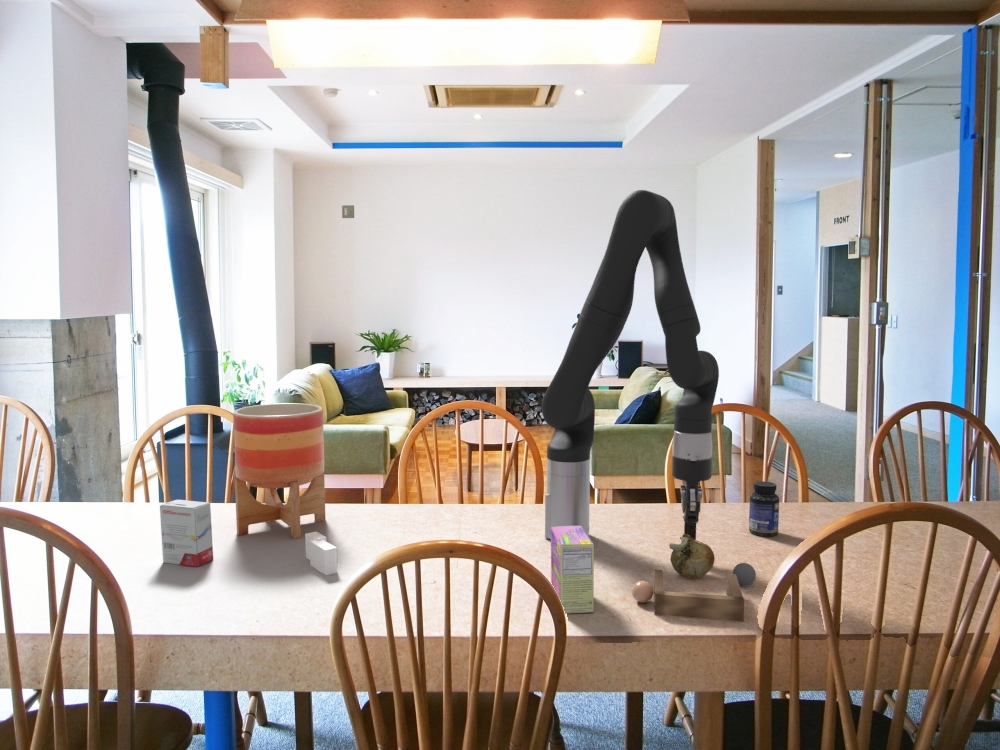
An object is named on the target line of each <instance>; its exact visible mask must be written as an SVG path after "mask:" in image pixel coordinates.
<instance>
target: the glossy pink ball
mask: <svg viewBox="0 0 1000 750" xmlns="http://www.w3.org/2000/svg"><path fill="white" fill-rule="evenodd" d="M631 595H632V597H633V599H634V600H635V601H637V602H638V603H642V604H645V603H649V601H651V600H652V599H653V597H654V587H653V586H652V585H651V584H650V583H649V582H648V581H646V580H638V581H636V582H635V583H634V584H633V586H632V588H631Z"/></svg>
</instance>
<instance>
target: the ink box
mask: <svg viewBox="0 0 1000 750" xmlns="http://www.w3.org/2000/svg"><path fill="white" fill-rule="evenodd" d="M211 511H212V510H211V502H205V501H195V500H188V499H187V500H186V499H175V500H170V501H168V502H165V503H162V504H160V505H159V514H160V515H159V517H160V530H161V531H160V533H161V547H162V548H161V549H162V562H163V563H164V564H169V565H170V564H172V565H178V566H179V565H181V566H186V567H187V566H188V567H194V568H198V567H201V566H203V565H205V564H207V563H209V562H211V561H212V560H214V547H213V545H214V544H213V532H212V531H213V530H212V526H213V525H212V513H211Z"/></svg>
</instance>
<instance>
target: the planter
mask: <svg viewBox="0 0 1000 750" xmlns="http://www.w3.org/2000/svg"><path fill="white" fill-rule="evenodd" d="M323 411H324V410H323V408H322V407H321V406H320V405H316V404H310V403H298V402H297V403H293V402H291V403H290V402H288V403H287V402H284V403H283V402H282V403H281V402H280V403H267V404H256V405H249V406H244V407H240V408H237V409H235V410H234V411H233V413H232V414H233V415H232V416H233V417H232V418H233V419H232V420H233V421H232V423H233V439H234V440H233V441H234V464H235V466H234V468H235V477H236V478H234V492H235V494H234V495H235V518H236V519H235V521H236V534H237V535H238V536H243V535H244V536H245V535H249V526H250V525H256V524H261V523H262V524H263V523H267V522H272V521H278V520H279V521H282V522H283V523H284V524H286V525H287V526H288V527H289V528H290V536H291V537H292V538H293V539H300V538H301V537H302V534H301V532H302V530H301V528H302V527H301V517H302V516H303V517H304V516H309V515H314V521H315V522H322V521H326V495H325V494H326V493H325V492H326V491H325V489H326V488H325V486H326V485H325V444H324V412H323ZM306 484H309V485H308V487H307V488H306V490H304V492H303V493H302V494H301V495H300V486H302V485H303V486H304V485H306ZM248 485H249V486H250V487H254V488H259V489H264V503H262V502H261V501H258V500H257V499H255V497H254V496H253V495H252V493H251V491H250V490H249V488H248ZM285 488H286V489H287V488H289V490H288V498H287V501H286V504H284V503H283V502H282V500H281V499H280V496H279V494H278V491H277V489H285Z"/></svg>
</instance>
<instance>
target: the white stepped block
mask: <svg viewBox="0 0 1000 750" xmlns="http://www.w3.org/2000/svg"><path fill="white" fill-rule="evenodd" d="M304 535H305V536H304V538H305V541H304V542H305V544H304V545H305V558H306V559H308V560H309V562H310V563H309V565H310V566H311V567H312V568H314V569H316V570H317V571H319V572H320V573H322V574H323V575H325V576H328V575H333V574H337V573H338V548H337V547H336V546H335V545H333V544H332V543H330V542H328V541H327V536H325V535H323V534H321V533H320V532H318V531H313V532H307V533H305V534H304Z"/></svg>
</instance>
